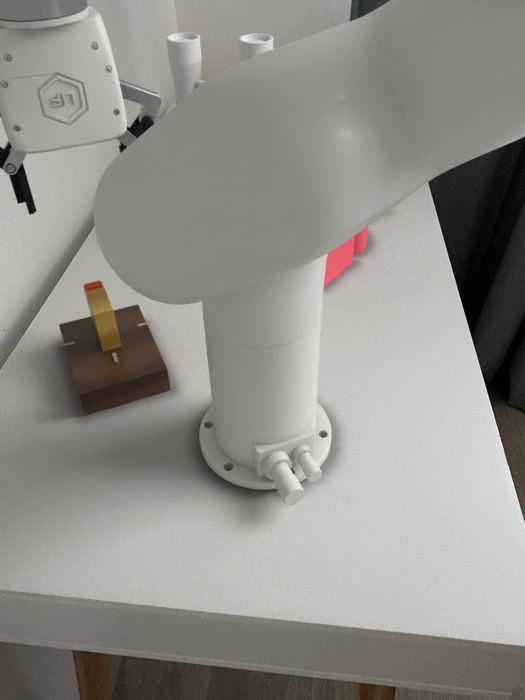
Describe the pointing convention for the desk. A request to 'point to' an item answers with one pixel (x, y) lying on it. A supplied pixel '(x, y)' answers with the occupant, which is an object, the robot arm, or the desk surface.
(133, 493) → the desk surface
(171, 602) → the desk surface
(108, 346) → the handle
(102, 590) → the desk surface
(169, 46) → the binoculars
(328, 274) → the letters
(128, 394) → the plate
